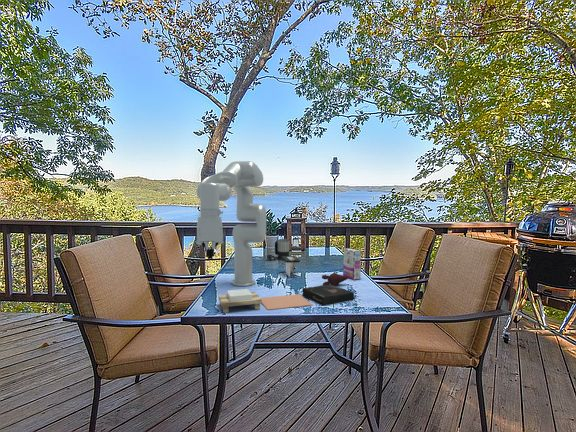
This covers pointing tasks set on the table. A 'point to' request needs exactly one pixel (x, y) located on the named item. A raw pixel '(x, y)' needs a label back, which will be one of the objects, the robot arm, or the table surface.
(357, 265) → the candy bar box
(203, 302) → the table surface
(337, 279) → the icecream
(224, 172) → the robot arm
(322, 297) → the portable cd player
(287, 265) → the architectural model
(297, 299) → the mat
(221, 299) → the serving board
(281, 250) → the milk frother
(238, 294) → the coaster
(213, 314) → the table surface
